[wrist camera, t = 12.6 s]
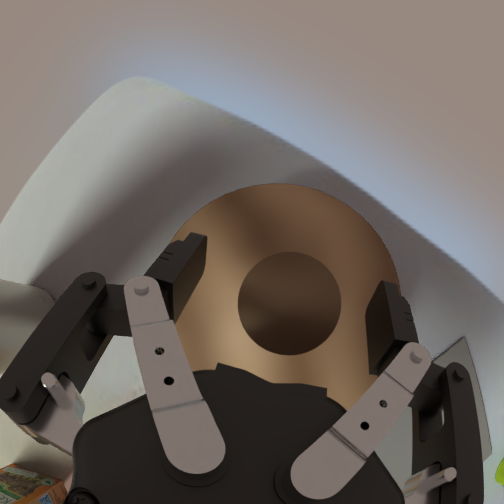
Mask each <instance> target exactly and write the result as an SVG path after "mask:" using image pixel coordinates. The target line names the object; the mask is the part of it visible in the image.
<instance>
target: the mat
mask: <svg viewBox="0 0 504 504" xmlns="http://www.w3.org/2000/svg"><path fill="white" fill-rule="evenodd" d="M432 362H433V363H435V364H437V365H439V366H441V367H444V368H446V367H447V366H448V365H449V364H450V363H452V362H457V363H460V364H462V365H463V366H464V367H465V368H466V369H467V370H468V372H469V374H470V378H471V382H472V387H473V392H474V397H475V403H476V409H477V415H478V422H479V429H480V438H481V447H482V459H483V461H484V460H486V459H487V458H488V457H489V456H490V455H491V454H492V452H491V445H490V438H489V432H488V426H487V421H486V415H485V410H484V406H483V401H482V397H481V393H480V388H479V384H478V381H477V377H476V373H475V370H474V366H473V363H472V359H471V356H470V353H469V349H468V346H467V343H466V340H465V337H462V338H461V339H460V340H458V341H457V342H456V343H455V344H454V345H452V346H451V347H450V348H449V349H447V350H446V351H445V352H443V353H442V354H441V355H440V356H438V357H437V358H436V359H434V360H433V361H432ZM442 422H443V424H444V411H443V410H442ZM374 451H375V452H376V454H377V455H378V457H379V458H380V459H381V461H382V462H383V464H384V465H385V467H386V468H387V470H388V471H389V473H390V474H391V476H392V477H393V478H394V480H395V481H396V483H397V484H398V486H399V487H400V489H401V491H402V490H403V488H404V484H405V482H406V480H407V479H408V478H409V477H410V476H411V474H412V408H411V407H408V406H407V407H406V408H405V410H404V411H403V413H402V414H401V416H400V417H399V418H398V420H397V421H396V422H395V424H394V425H393V427H392V428H391V429H390V430H389V432H388V433H387V434H386V436H385V437H384V438H383V440H382V441H381V442H380V443H379V445H378V446H377V447H376V448H375V449H374Z"/></svg>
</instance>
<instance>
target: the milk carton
mask: <svg viewBox="0 0 504 504" xmlns="http://www.w3.org/2000/svg"><path fill="white" fill-rule="evenodd" d="M67 494H68V493H67V490H66V488H65V486H64V484H63V481H62V480H59V479H55V478H52V477H49V476H45V475H42V474H39V473H36V472H33V471H30V470H28V469H25V468H22V467H20V466H17V465H14V464H10V465H8V466H6V467H4V468H1V469H0V504H62V502H63V501H64V499H65V498H66V496H67Z"/></svg>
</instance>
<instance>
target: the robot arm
mask: <svg viewBox="0 0 504 504" xmlns="http://www.w3.org/2000/svg"><path fill="white" fill-rule="evenodd" d="M207 240H208V238H207V236H206V235H202V234H198V233H194V232H190V233H189V235H188V236H187V237H186V238H185V240H184V241H181V240H176V241H174V242H172V243H171V244H169V245H168V246H167V247H166V248H165V250H164V251H163V252H162V253H161V254H160V256H159V258H157V259H156V261H155V262H154V263H153V264H152V265H151V267H150V268H149V269H148V270H147V272H146V273H145V274H144V275H143V276H137V277H134V278H131V279H130V280H128V281H127V282H126V284H125V285H114V284H106V281H105V278H104V276H103V275H101V274H99V273H96V272H88V273H84V274H82V275H80V276H79V277H77V278H76V279H75V281H74V282H73V283H72V284H71V285H70V286H69V288H68V289H67V290H66V291H65V292H64V293H63V295H62V296H61V297H60V298H59V300H58V301H57V302H56V303H55V301H54V300H53V298H52V297H51V296H50V295H49V293H48V292H46V291H45V290H44V289H41V288H39V287H35V286H30V285H25V284H20V283H15V282H11V281H6V280H1V279H0V374H3V375H2V377H1V379H0V408H1V409H2V410H3V411H4V412H5V413H6V414H7V415H8V416H9V418H10V419H11V420H12V421H13V422H14V423H15V424H16V425H17V426H18V427H19V428H20V429H22V430H23V431H24V432H25V433H26V434H28V435H29V436H31V437H32V438H33V439H35V440H36V441H37V442H39V443H41V444H46V445H47V444H51V445H53V446H54V447H56V448H58V449H60V450H61V451H63V452H65V453H67V454H68V455H70V456H72V457H73V478H72V484H71V488H70V491H69V493H68V494H67V496H66V498H65V499H64V501H63V502H62V504H483V502H484V478H483V459H482V447H481V438H480V429H479V422H478V415H477V409H476V403H475V397H474V392H473V387H472V382H471V378H470V374H469V372H468V370H467V369H466V368H465V367H464V366H463V365H462V364H460V363H457V362H452V363H450V364H449V365H448V366H447V367H446V368H444V367H441V366H439V365H437V364H435V363H433V362H431V356H430V354H429V352H428V351H427V349H426V348H425V347H423V346H422V345H420V344H419V341H418V337H417V333H416V328H415V324H414V322H413V321H414V320H413V316H412V313H411V309H410V305H409V304H408V302H407V301H406V299H405V298H404V297H402V296H400V293H399V289H398V286H397V284H395V283H391V282H387V281H383V280H382V281H380V282H379V284H378V286H377V288H376V290H375V292H374V294H373V296H372V298H371V300H370V302H369V304H368V306H367V308H366V312H365V324H366V335H367V348H368V364H369V374H370V375H377V376H378V379H377V380H376V381H375V382H374V383H373V384H372V385H371V387H370V388H369V389H368V390H367V391H366V392H365V393H364V394H363V395H362V396H361V398H360V399H359V400H358V401H357V402H356V403H355V404H354V405H353V406H352V407H351V408H350V409H349V410H348V411H347V410H346V409H345V408H344V407H343V406H342V405H340V404H339V403H338V402H336V401H335V400H333V399H331V398H329V397H327V388H324V387H318V386H313V385H308V384H303V383H271V382H269V381H266V380H264V379H262V378H260V377H258V376H256V375H254V374H252V373H250V372H248V371H246V370H244V369H240V368H236V367H233V366H229V365H226V364H222V363H219V362H218V363H217V366H216V368H215V370H211V369H209V370H198V371H193V372H192V371H191V368H190V365H189V363H188V360H187V358H186V355H185V352H184V349H183V347H182V344H181V341H180V338H179V336H178V333H177V330H176V327H175V324H176V322H177V320H178V318H179V316H180V315H181V313H182V311H183V309H184V307H185V306H186V304H187V302H188V300H189V299H190V297H191V295H192V293H193V291H194V290H195V288H196V286H197V284H198V283H199V281H200V279H201V277H202V275H203V273H204V270H205V265H206V253H207ZM114 335H117V336H129V337H133V342H134V346H135V351H136V355H137V359H138V363H139V368H140V372H141V376H142V379H143V383H144V387H145V391H146V394H144V395H142V396H140V397H138V398H136V399H134V400H132V401H130V402H128V403H126V404H123V405H121V406H119V407H117V408H115V409H113V410H110V411H108V412H106V413H104V414H101V415H99V416H97V417H95V418H92V419H91V420H89V421H88V422H86V423H85V424H84V425H83V422H82V418H83V413H84V410H85V404H84V401H83V399H82V397H81V395H80V394H81V392H82V390H83V388H84V387H85V385H86V383H87V381H88V379H89V377H90V376H91V374H92V372H93V370H94V368H95V367H96V365H97V363H98V361H99V360H100V358H101V356H102V354H103V353H104V351H105V349H106V348H107V346H108V344H109V342H110V341H111V339H112V337H113V336H114ZM407 406H408V407H411V408H412V474H411V476H410V477H409V478H408V479H407V480H406V482H405V484H404V488H403V490H402V491H401V489H400V487H399V486H398V484H397V483H396V481H395V480H394V478H393V477H392V476H391V474H390V473H389V471H388V470H387V468H386V467H385V465H384V464H383V462H382V461H381V459H380V458H379V457H378V455H377V454H376V452H375V451H374V449H375V448H376V447H377V446H378V445H379V443H380V442H381V441H382V440H383V438H384V437H385V436H386V434H387V433H388V432H389V430H390V429H391V428H392V427H393V425H394V424H395V422H396V421H397V420H398V418H399V417H400V416H401V414H402V413H403V411H404V410H405V408H406V407H407ZM442 410H443V411H444V424H443V422H442Z"/></svg>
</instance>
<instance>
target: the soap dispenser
mask: <svg viewBox="0 0 504 504" xmlns="http://www.w3.org/2000/svg"><path fill="white" fill-rule="evenodd" d="M495 479H496V481H497V482H498V483H500V484H501V485H503V486H504V459H503V460H502V462H501V463H500V465H499V467H498V469H497V472H496V476H495Z"/></svg>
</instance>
